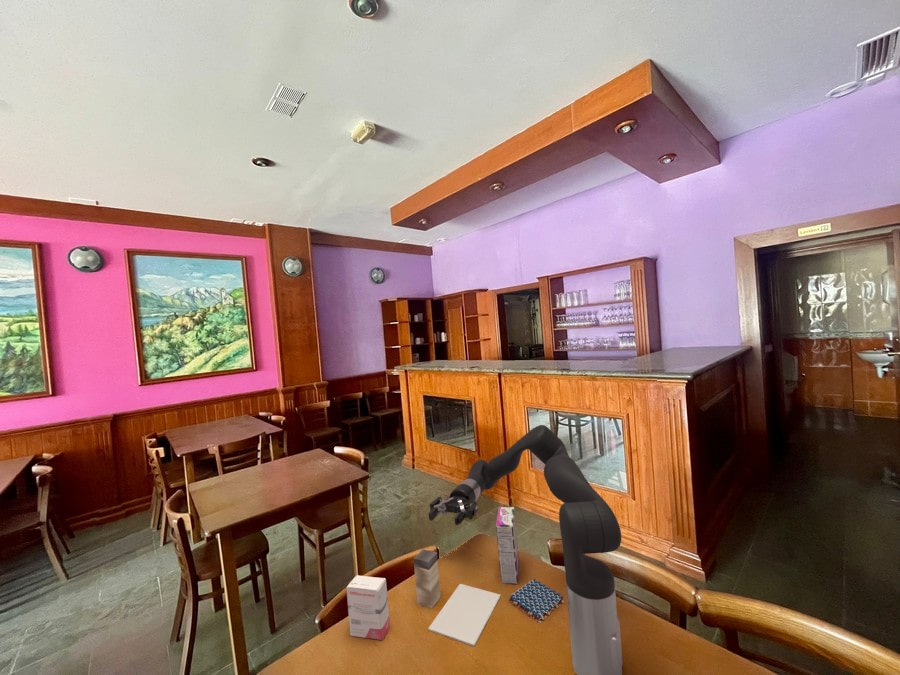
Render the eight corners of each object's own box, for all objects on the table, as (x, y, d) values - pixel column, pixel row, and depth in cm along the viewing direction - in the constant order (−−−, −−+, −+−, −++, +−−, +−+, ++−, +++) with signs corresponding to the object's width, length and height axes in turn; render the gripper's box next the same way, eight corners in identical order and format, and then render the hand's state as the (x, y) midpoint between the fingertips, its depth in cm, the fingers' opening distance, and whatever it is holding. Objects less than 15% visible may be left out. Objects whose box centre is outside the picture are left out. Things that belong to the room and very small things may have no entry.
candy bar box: (502, 559, 112) (498, 506, 112) (519, 560, 111) (514, 506, 111) (500, 584, 101) (495, 524, 101) (518, 585, 100) (513, 525, 100)
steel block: (440, 597, 98) (437, 552, 98) (431, 609, 94) (428, 562, 94) (426, 593, 100) (422, 549, 100) (417, 604, 96) (413, 558, 96)
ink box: (391, 625, 89) (387, 577, 89) (382, 641, 85) (378, 590, 85) (359, 620, 92) (356, 573, 92) (349, 636, 87) (345, 586, 87)
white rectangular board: (500, 596, 96) (500, 594, 96) (474, 646, 81) (474, 644, 81) (460, 585, 102) (460, 583, 102) (428, 630, 87) (428, 628, 87)
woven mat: (506, 603, 94) (506, 595, 94) (533, 584, 101) (533, 576, 101) (539, 626, 86) (538, 618, 86) (566, 604, 92) (565, 596, 92)
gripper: (486, 508, 118) (466, 536, 103) (447, 503, 124) (423, 528, 110) (484, 485, 117) (463, 510, 103) (445, 481, 124) (420, 503, 109)
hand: (442, 519), depth 106 cm, fingers open, 8 cm apart
